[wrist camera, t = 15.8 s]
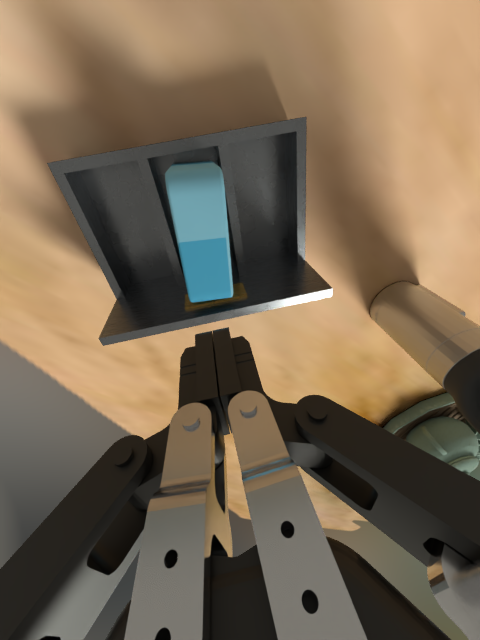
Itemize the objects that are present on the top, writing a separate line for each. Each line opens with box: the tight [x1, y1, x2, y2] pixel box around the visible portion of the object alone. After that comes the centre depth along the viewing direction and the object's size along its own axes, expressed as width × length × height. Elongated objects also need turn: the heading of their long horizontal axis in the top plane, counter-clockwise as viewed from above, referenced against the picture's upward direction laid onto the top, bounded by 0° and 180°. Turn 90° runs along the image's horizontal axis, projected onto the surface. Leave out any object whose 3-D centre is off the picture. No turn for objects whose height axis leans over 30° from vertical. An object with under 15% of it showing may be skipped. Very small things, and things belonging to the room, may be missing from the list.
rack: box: [47, 117, 333, 346], centre depth 28 cm, size 25×16×14 cm, turn 98°
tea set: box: [383, 392, 480, 475], centre depth 74 cm, size 40×40×16 cm
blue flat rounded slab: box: [165, 161, 233, 303], centre depth 27 cm, size 12×4×12 cm, turn 3°
